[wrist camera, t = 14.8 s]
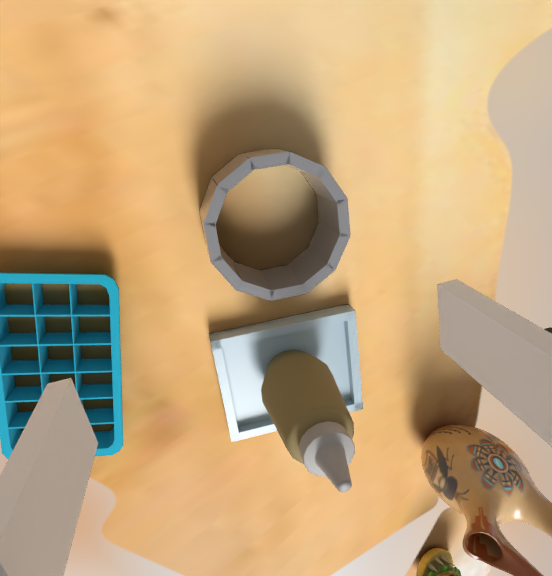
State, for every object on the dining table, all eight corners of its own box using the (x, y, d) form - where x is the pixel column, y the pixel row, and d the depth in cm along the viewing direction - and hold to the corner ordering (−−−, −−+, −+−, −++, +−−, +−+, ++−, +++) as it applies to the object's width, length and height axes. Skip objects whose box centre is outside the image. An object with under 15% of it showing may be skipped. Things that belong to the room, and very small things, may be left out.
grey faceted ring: (320, 141, 45) (343, 143, 39) (332, 265, 50) (354, 283, 44) (189, 161, 43) (192, 166, 37) (214, 288, 48) (220, 311, 42)
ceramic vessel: (506, 411, 62) (703, 578, 39) (486, 465, 65) (659, 652, 42) (399, 406, 58) (549, 590, 35) (382, 465, 61) (510, 672, 37)
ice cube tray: (13, 443, 49) (3, 462, 46) (-9, 263, 43) (-22, 273, 40) (126, 436, 52) (123, 454, 49) (121, 266, 45) (117, 275, 42)
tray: (348, 303, 52) (355, 310, 50) (356, 399, 56) (363, 409, 54) (209, 333, 49) (210, 341, 47) (229, 431, 54) (231, 442, 52)
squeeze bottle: (245, 354, 50) (281, 467, 33) (314, 329, 51) (382, 427, 34) (266, 412, 53) (309, 541, 36) (330, 387, 54) (400, 503, 37)
